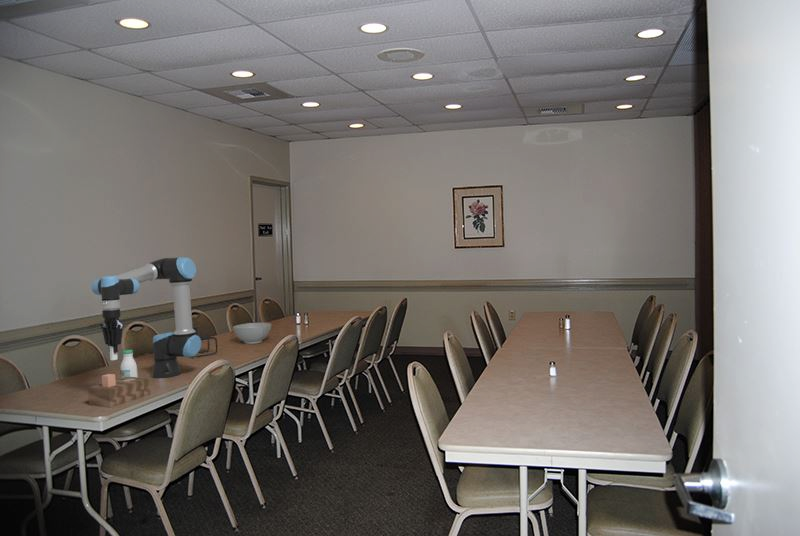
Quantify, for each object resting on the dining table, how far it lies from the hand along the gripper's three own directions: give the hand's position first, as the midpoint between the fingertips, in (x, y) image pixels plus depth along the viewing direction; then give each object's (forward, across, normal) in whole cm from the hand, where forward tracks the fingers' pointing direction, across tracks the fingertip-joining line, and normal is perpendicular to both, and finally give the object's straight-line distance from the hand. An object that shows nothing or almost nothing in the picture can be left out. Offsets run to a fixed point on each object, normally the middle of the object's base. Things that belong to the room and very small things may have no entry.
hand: (113, 359), depth 276 cm
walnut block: (+19, 0, +2) cm, 20 cm away
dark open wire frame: (+18, -41, +99) cm, 108 cm away
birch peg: (+19, 0, +8) cm, 21 cm away
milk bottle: (+19, -11, +18) cm, 28 cm away
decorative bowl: (+17, -37, +146) cm, 151 cm away
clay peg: (+15, 0, -3) cm, 15 cm away
